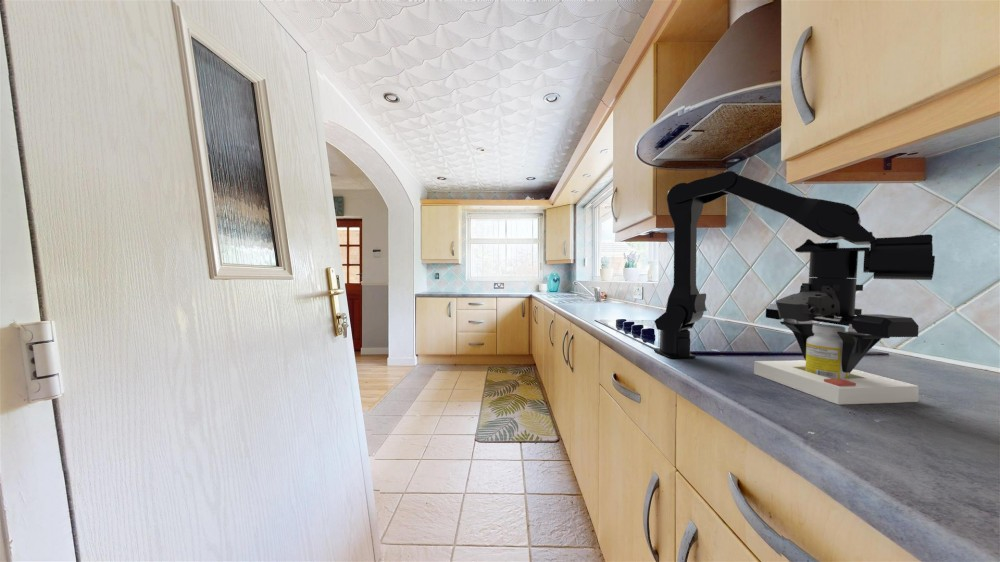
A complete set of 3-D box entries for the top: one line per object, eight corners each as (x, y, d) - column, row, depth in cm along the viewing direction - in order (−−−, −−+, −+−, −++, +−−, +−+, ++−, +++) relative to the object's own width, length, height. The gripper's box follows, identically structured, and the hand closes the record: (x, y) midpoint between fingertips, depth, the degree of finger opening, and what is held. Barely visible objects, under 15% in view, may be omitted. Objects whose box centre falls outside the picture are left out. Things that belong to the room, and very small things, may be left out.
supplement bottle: (828, 376, 57) (831, 323, 57) (859, 387, 52) (862, 329, 52) (796, 375, 58) (799, 322, 57) (823, 386, 52) (826, 328, 52)
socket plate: (754, 373, 61) (754, 359, 61) (817, 372, 62) (818, 358, 62) (838, 404, 47) (839, 385, 47) (917, 401, 49) (919, 383, 48)
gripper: (742, 276, 63) (738, 353, 63) (857, 279, 44) (850, 388, 45) (792, 276, 64) (788, 352, 64) (925, 280, 45) (917, 386, 46)
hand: (826, 366), depth 55 cm, fingers closed on supplement bottle, 5 cm apart
